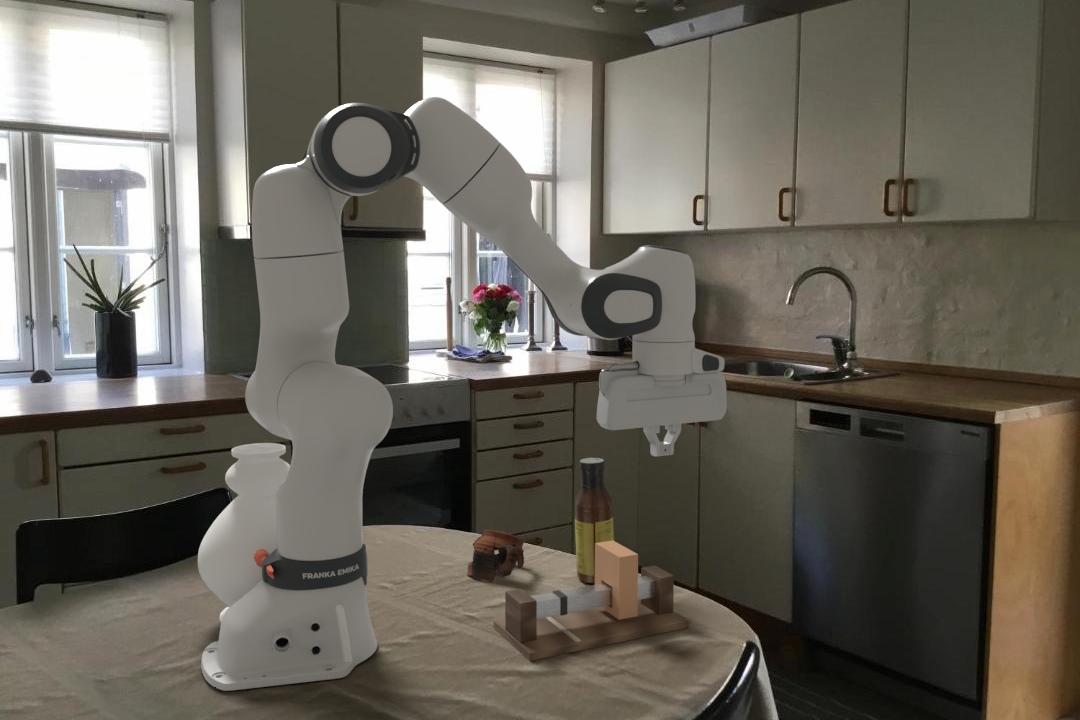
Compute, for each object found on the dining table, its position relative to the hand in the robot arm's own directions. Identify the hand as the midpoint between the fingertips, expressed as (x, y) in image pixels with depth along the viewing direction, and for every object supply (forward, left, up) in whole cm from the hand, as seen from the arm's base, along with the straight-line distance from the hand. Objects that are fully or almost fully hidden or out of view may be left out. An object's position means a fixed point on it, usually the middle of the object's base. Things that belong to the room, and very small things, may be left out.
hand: (662, 455), depth 134 cm
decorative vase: (-53, +25, -24) cm, 63 cm away
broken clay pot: (-15, +26, -24) cm, 39 cm away
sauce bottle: (-2, +17, -24) cm, 30 cm away
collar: (-8, 0, -22) cm, 23 cm away
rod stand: (-12, 0, -24) cm, 27 cm away
